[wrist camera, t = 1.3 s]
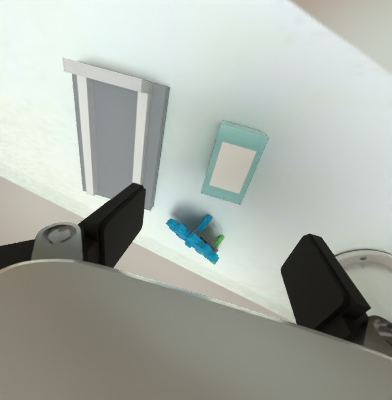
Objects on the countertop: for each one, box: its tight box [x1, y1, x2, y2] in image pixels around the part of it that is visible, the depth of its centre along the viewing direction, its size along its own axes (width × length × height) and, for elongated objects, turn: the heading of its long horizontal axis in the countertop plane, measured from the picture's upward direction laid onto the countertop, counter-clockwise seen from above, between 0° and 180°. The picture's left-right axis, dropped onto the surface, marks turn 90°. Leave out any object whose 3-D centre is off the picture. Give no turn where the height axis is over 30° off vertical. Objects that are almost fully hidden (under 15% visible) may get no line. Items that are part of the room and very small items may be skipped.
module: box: [201, 121, 269, 205], centre depth 22 cm, size 5×8×6 cm, turn 166°
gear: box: [166, 215, 224, 265], centre depth 29 cm, size 11×6×10 cm
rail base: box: [63, 58, 170, 210], centre depth 25 cm, size 12×18×4 cm, turn 166°
